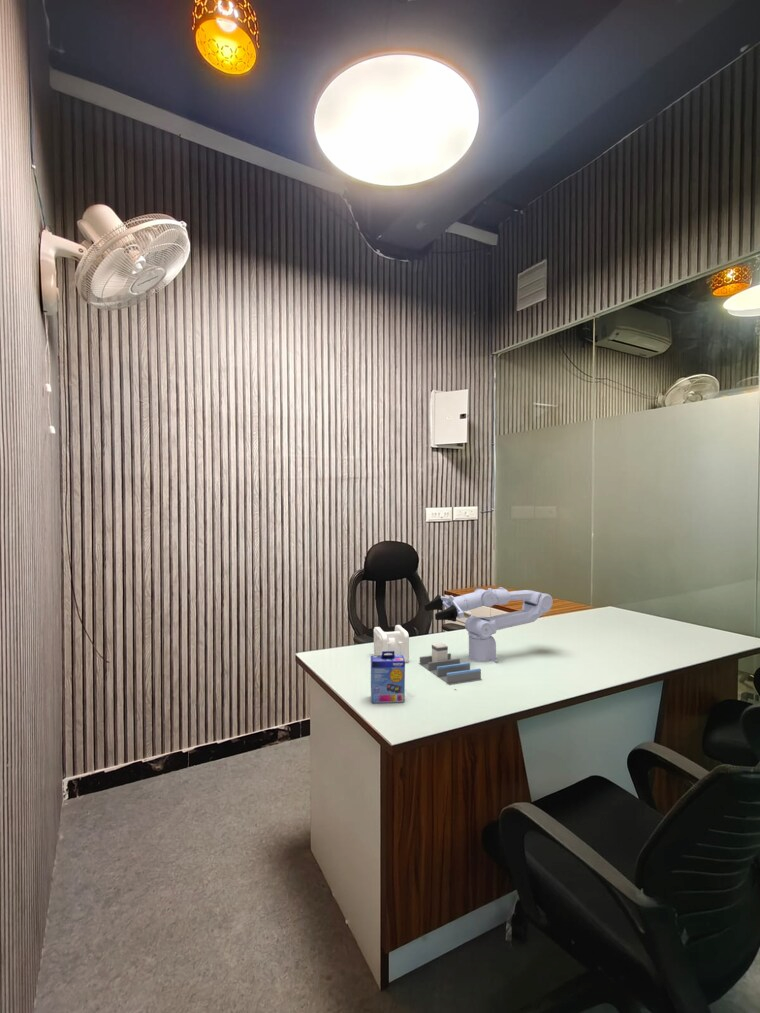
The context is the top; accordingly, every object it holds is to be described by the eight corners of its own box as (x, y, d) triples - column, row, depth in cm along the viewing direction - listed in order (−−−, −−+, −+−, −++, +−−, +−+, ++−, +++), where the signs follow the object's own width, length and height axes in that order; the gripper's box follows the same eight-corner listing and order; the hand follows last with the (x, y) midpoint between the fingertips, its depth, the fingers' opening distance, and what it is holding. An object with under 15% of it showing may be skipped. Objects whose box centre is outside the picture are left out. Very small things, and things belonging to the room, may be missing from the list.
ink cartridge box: (371, 704, 129) (371, 652, 129) (370, 696, 135) (370, 647, 135) (405, 702, 130) (405, 651, 130) (403, 695, 135) (403, 646, 136)
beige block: (442, 662, 162) (442, 643, 162) (447, 666, 158) (447, 646, 158) (431, 664, 160) (431, 644, 160) (437, 667, 156) (437, 647, 156)
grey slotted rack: (448, 662, 165) (448, 650, 166) (482, 683, 145) (482, 670, 145) (418, 666, 161) (418, 654, 161) (449, 688, 141) (449, 674, 141)
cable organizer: (410, 666, 161) (410, 633, 161) (381, 668, 159) (381, 635, 159) (398, 653, 176) (398, 623, 176) (372, 655, 173) (372, 625, 173)
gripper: (452, 585, 170) (419, 593, 165) (474, 601, 157) (440, 610, 152) (452, 603, 172) (420, 611, 167) (474, 619, 159) (440, 629, 154)
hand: (430, 612), depth 159 cm, fingers open, 7 cm apart
